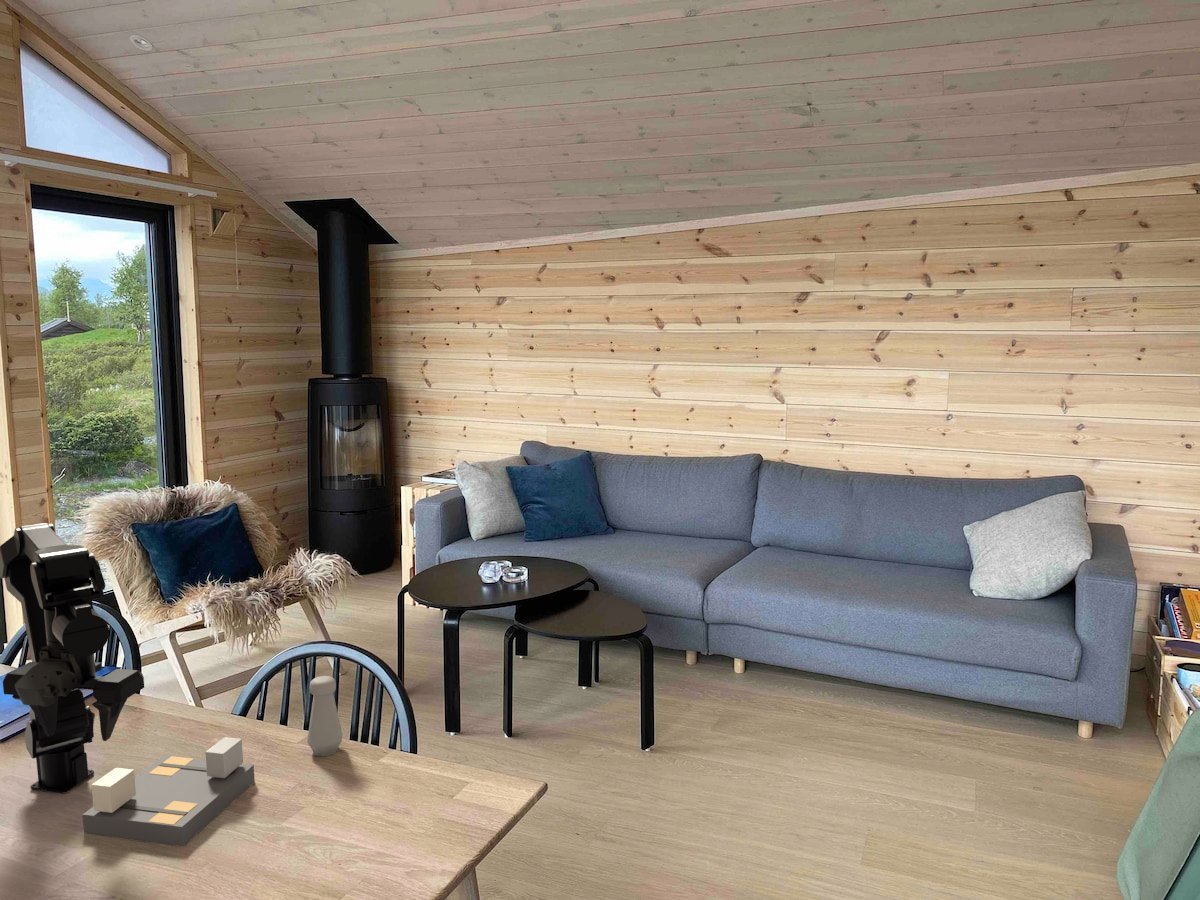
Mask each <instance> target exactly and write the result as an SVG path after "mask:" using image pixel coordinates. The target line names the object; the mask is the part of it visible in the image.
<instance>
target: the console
mask: <svg viewBox="0 0 1200 900" xmlns="http://www.w3.org/2000/svg"><path fill="white" fill-rule="evenodd" d="M134 776H135V788H136V795H135V796H134V797H132V798H131V799H130V800H128V801H127V802H126V803H124V804H123V805H122V806H120V807H119V808H118V809H117V810H115V811H114V812H113V813H110V812H102V811H94V807H93V806H92V807H91V808H89V809H88V810H87V811H85V812H84V813H82V822H83V823H82V824H83V834H84V835H90V834H91V835H90V836H98V837H99V836H100V837H106V838H114V839H124V840H128V841H129V840H131V841H139V842H144V843H145V842H147V843H153V844H159V845H160V844H162V845H169V846H176V847H184V846H186V845H187V844H188V843H190V841H191V840H193V838H195V837H196V836H197V835H198V834H199V833H201V831H203V830H204V829H205V828H206V827H207V826H208V825H209V824H210V823H211V822H213V821H214V820H215V819H216V818H217V817H219V815H220V814H222V812H224V811H225V810H226V809H227V808H228V807H229V806H231V804H233V802H235V801H236V800H237V799H238V798H240V796H241V795H242V794H244V793H245V791H247V790H248V789H249V788H251V786H253V785H254V784H255V782H256V781H255V765H254V764H248V763H242V764H241V765H240V766H238V767H237V768H236V769H235V770H234V771H233V772H231V773H230V774H229V775H228V776H227V777H225V778H219V777H210V776H207V767H206V759H204V758H203V759H202V758H195V757H184V756H175V755H168V754H167V755H165V754H164V755H163V756H161V757H160V758H159V759H157V760H156V761H154V762H153V763H151V764H150V765H148V767H146V768H145V769H143V770H142V771H141V772H139V773H138V774H137V775H134Z"/></svg>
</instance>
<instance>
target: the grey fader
mask: <svg viewBox="0 0 1200 900" xmlns="http://www.w3.org/2000/svg"><path fill="white" fill-rule="evenodd" d="M242 739H243V738H237V737H236V738H234V737H226V736H224V737H223V738H221V739H220V740H219V741H218V742H216V743H215V744H214V745H213V746H210V748H209V749H207V750H206V751H205V760H206V767H207V776H210V777H219V778H225V777H227V776H228V775H229V774H230V773H231V772H233V771H234V770H235V769H236V768H237V767H238V766H240V765H241V764H244V752H243V740H242Z"/></svg>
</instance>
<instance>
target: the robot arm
mask: <svg viewBox="0 0 1200 900" xmlns="http://www.w3.org/2000/svg"><path fill="white" fill-rule="evenodd" d="M0 579H4V582H5V586H6V590H7V591H8V592H9V593H10V595H12V596H13V597H14V598H15V599H16V600H17V601H18V602H19V603H20V606H21V608H22V616H23V620H24V625H25V631H26V637H27V642H28V647H29V652H30V657H31V661H28V662H26V663H25V664H23V665H21V666H18V668H15V669H13V670H11V671H9V672H7V673H6V675H5V676H4V678H3V679H2V690H3V694H4V695H8V696H9V695H11V696H12V699H14V700H18V701H20V702H21V703H22V705H24V706H29V707H30V708H29V718H30V719H29V720H27V722H26V725H25V726H26V727H25V732H24V741H25V746H26V747H25V748H26V750H27V752H28V753H29V755H30V757H31V759H36V772H37V781H35V783H32V784H31V785H30V789H31V790H33V791H41V792H49V793H50V792H51V793H59V794H65V793H68V792H70V791H71V790H73V789H74V788H75V787H77V786H79V785H80V784H81V783H83V782H85V781H86V780H87V779H89V778H90V777H92V776H93V775H94V774H95V771H94V770H93V769H89V766H88V765H89V763H88V755H87V752H85V745H86V744H91V743H93V738H94V737H95V736H94V724H95V717H96V713H94V712H93V711H92V709H91V708H90V706H89V705H86V702H85V697H84V694H83V691H82V690H87V691H88V690H91V691H92V696H93V698H94V699H95V700H96V701H94V702H93V703H91V705H92V706H93V707H94V709H96V710H97V711H98V716H99V726H100V734H101V738H102V741H103V742H107V741H108V740H109V739H110V738H111V736H112V734H113V731H114V729H115V728H116V724H117V722H118V719H119V717H120V714H121V712H122V710H123V708H124V706H125V704H126V702H127V700H128V699H129V698H131V697H132V696H134V695H135V694H136V693H138V692H140V691H141V690H143V689H145V677H144V675H143V673H142V672H141V671H140V670H137V669H136V670H135V669H126V668H116V669H115V670H112V671H111V672H109V673H108V674H106V675H104V676H100V675H96V674H97V673H98V672H100V671H102V669H103V666H102V662H96V658H95V654H97V653H98V652H99V651H101V650H102V649H103V648H104V647H105V645H106V644H107V643H108V640H109V637H110V627H109V625H108V623H107V621H106V620H104V618H103V617H102V616H101V615H100V614H98V612H96V610H95V609H94V606H93V605H94V603H93V601H94V600H95V601H96V600H100V599H104V598H105V594H104V590H105V589H106V582H105V579H104V576H103V572H102V569H101V565H100V563H99V560H97V558H96V556H95V555H94V554H93V553H90V551H89V549H88V548H87V547H85V546H84V545H83V546H82V545H80V544H78V545H77V544H66V542H65V541H64V540H63V539H62V538H61V537H60V536H59V534H57V533H56V531H55V527H54V524H53V523H47V522H41V523H35V524H26V525H25V524H24V525H20V526H19V527H17V528H14V532H13V535H12V536H11V537H10V538H8V539H7V540H6V541H5V542H3V543H2V544H1V545H0ZM91 585H92V586H91ZM90 586H91V587H90ZM87 587H88V588H87Z"/></svg>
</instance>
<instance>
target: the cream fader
mask: <svg viewBox="0 0 1200 900" xmlns="http://www.w3.org/2000/svg"><path fill="white" fill-rule="evenodd" d="M135 776H136V775H135V769H133V768H132V769H130V768H124V767H115V768H113V769H112V770H111V771H108V773H106V774H105V775H103V776H102V777H100V778H99V779H97V780H96V781H94V782H93V783H91V793H92V805H93V806H92V807H94V811H102V812H110V813H113V812H114V811H115V810H117V809H118V808H119V807H120V806H122V805H123V804H124V803H126V802H127V801H128V800H130V799H131V798H132V797H134V796H135V795H136V788H135Z"/></svg>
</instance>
